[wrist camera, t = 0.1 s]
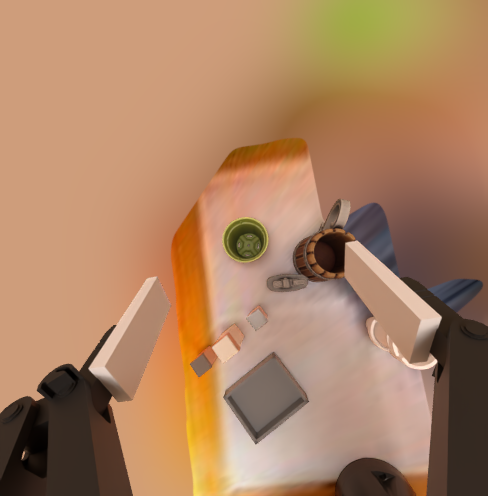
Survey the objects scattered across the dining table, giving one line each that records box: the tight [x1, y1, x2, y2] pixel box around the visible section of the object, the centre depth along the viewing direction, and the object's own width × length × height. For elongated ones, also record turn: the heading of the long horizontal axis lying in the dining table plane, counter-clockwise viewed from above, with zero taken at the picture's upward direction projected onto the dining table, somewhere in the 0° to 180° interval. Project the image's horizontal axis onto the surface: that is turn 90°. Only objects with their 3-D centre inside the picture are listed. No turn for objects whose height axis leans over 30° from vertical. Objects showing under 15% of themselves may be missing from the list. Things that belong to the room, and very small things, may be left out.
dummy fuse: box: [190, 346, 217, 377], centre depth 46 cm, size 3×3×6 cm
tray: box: [223, 352, 309, 444], centre depth 46 cm, size 11×14×3 cm
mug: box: [293, 199, 355, 282], centre depth 42 cm, size 16×11×15 cm
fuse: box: [212, 323, 244, 364], centre depth 44 cm, size 4×4×10 cm
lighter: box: [267, 274, 308, 292], centre depth 45 cm, size 8×3×10 cm, turn 96°
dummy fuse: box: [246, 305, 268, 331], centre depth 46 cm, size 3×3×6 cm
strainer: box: [366, 316, 437, 370], centre depth 39 cm, size 7×7×15 cm
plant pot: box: [222, 217, 268, 263], centre depth 47 cm, size 9×9×9 cm
